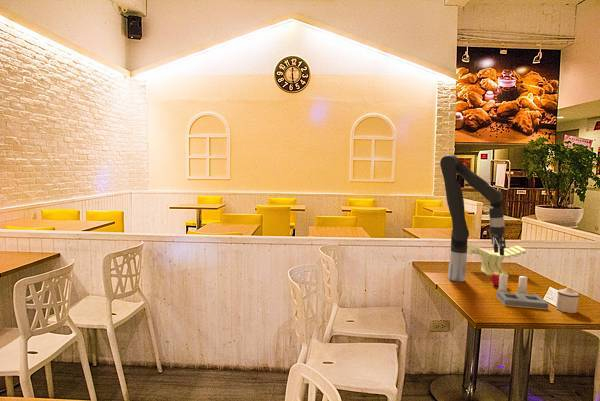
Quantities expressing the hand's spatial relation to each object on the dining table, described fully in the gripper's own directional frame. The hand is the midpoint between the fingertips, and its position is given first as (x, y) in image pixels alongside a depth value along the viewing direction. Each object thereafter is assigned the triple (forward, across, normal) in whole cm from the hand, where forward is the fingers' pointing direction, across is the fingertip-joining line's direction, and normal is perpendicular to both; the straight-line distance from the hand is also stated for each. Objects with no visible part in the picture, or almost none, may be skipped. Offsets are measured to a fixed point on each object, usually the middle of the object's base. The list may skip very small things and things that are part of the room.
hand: (499, 253), depth 235 cm
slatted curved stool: (+20, -36, +9) cm, 42 cm away
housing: (+21, +22, +1) cm, 31 cm away
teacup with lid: (+24, +27, +20) cm, 42 cm away
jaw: (+20, +8, -3) cm, 22 cm away
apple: (+20, -6, 0) cm, 21 cm away
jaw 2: (+22, +8, +7) cm, 24 cm away
